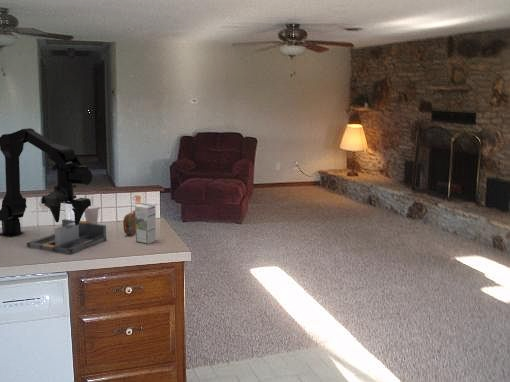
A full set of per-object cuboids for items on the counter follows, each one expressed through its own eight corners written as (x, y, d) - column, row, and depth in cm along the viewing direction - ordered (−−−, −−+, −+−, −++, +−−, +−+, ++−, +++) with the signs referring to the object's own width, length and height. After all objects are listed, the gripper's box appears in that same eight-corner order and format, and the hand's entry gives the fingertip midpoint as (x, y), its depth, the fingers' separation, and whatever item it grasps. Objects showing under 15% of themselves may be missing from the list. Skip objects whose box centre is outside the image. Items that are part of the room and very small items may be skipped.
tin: (129, 237, 216) (129, 216, 214) (122, 236, 216) (121, 215, 215) (144, 227, 230) (144, 208, 228) (137, 227, 231) (137, 207, 229)
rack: (26, 246, 200) (25, 230, 199) (65, 233, 218) (64, 218, 217) (70, 254, 192) (69, 237, 191) (106, 240, 210) (105, 224, 209)
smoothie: (97, 231, 222) (96, 198, 219) (81, 231, 222) (80, 197, 219) (102, 227, 228) (101, 194, 225) (86, 227, 228) (85, 194, 225)
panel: (55, 246, 201) (54, 228, 200) (74, 240, 210) (73, 222, 209) (60, 247, 200) (59, 229, 199) (79, 240, 209) (78, 223, 208)
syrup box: (156, 240, 212) (156, 204, 209) (147, 244, 207) (147, 206, 204) (144, 238, 214) (143, 202, 211) (135, 242, 209) (134, 205, 206)
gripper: (28, 183, 197) (31, 225, 200) (70, 188, 190) (71, 232, 193) (51, 179, 207) (53, 219, 210) (91, 183, 200) (92, 224, 203)
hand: (66, 223), depth 203 cm, fingers open, 9 cm apart
